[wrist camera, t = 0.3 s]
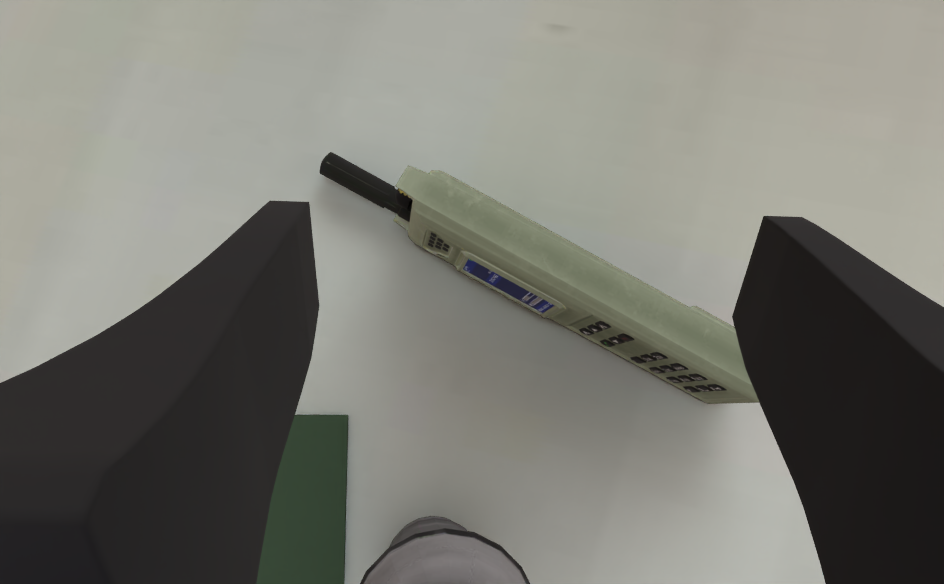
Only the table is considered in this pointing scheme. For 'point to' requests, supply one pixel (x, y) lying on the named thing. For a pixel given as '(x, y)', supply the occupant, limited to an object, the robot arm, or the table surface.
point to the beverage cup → (443, 557)
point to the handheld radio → (559, 280)
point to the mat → (308, 505)
